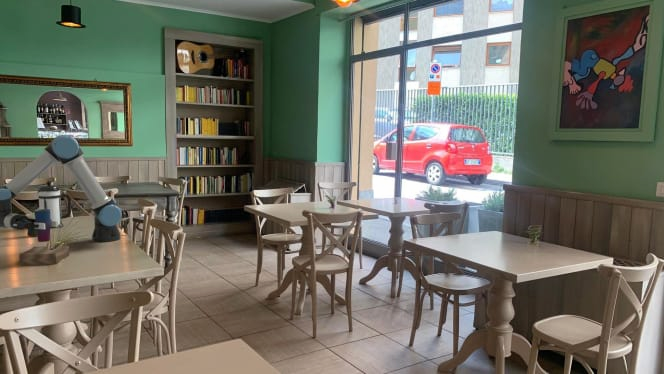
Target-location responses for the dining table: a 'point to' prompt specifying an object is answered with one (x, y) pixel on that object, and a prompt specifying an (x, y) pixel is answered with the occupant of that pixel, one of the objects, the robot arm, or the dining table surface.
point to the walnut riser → (43, 255)
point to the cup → (43, 217)
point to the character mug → (30, 232)
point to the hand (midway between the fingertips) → (50, 225)
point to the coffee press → (53, 201)
